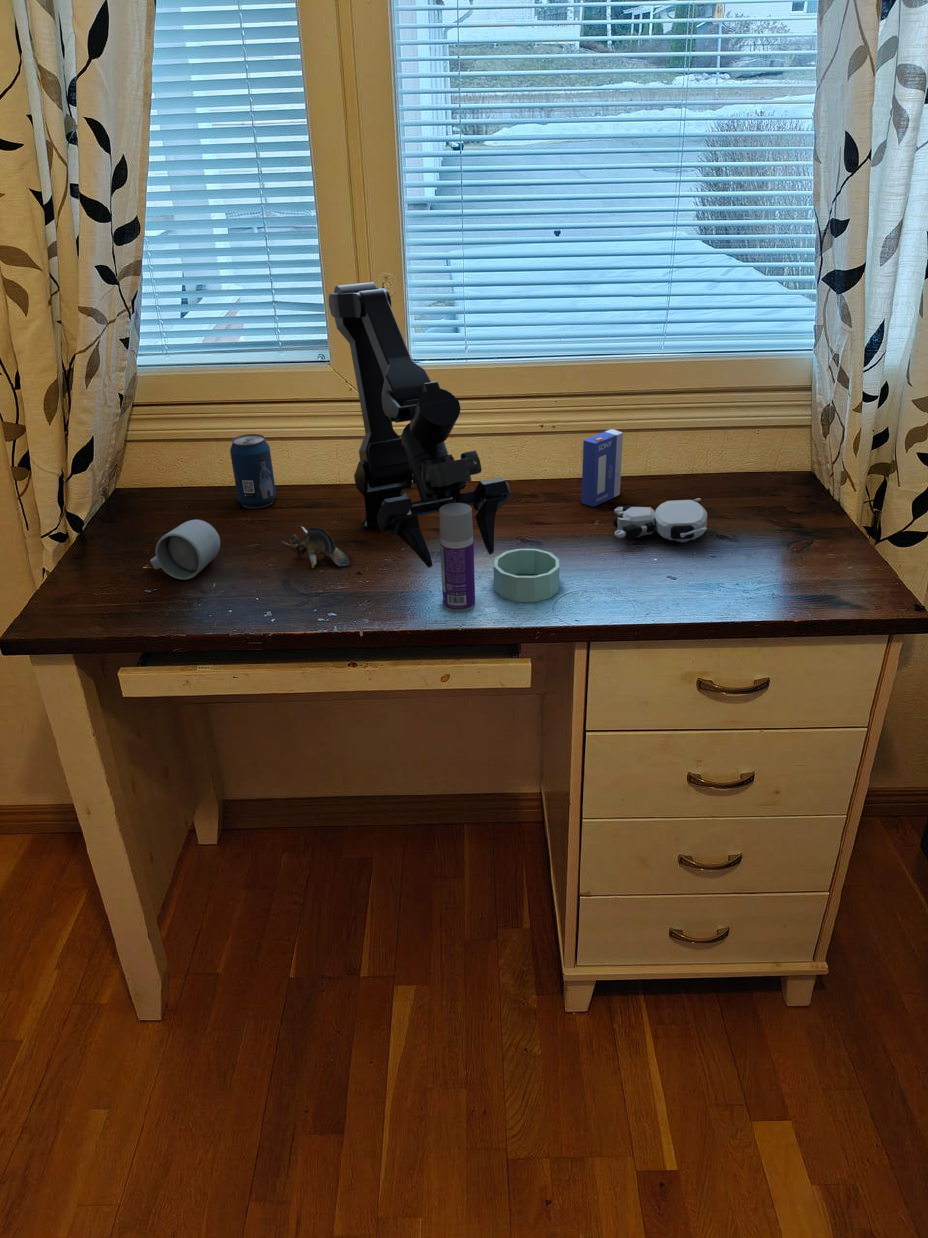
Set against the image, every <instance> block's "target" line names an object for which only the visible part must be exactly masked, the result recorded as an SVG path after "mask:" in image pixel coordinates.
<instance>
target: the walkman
mask: <svg viewBox="0 0 928 1238" xmlns="http://www.w3.org/2000/svg"><path fill="white" fill-rule="evenodd" d="M582 441H583V442H582V443H583V444H582V470H581V471H582V473H581V474H582V476H581V504H583V505H586V506H590V507H592V508H593V507H597V506H598V505H601V504H603V503H605V502H607V501H609V500H612V499H614V498H617V497H618V496H620V495H621V480H622V479H621V478H622V460H623V441H624V432H623V431H619V430H617V429H614V428H610V429H608V430H605V431H603V432H600V433H598V434H596V435H593V436H589V437H588V438H586V439H583V440H582Z"/></svg>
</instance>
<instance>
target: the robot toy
mask: <svg viewBox="0 0 928 1238" xmlns="http://www.w3.org/2000/svg"><path fill="white" fill-rule="evenodd" d="M701 500H702V498H700V497H698V498H695V499H683V500H682V499H680V500H679V499H677V500H667V501H665V502H662V503H660V504H659V505H658V507H656V509H655V510H654V509H653V508H652V507H651V506H649V507H647V506H633V505H624V506H617V507H616V508H615V509H614V510H613V511H614V514H616V516H615V517H614V518H613V520H612V523H613V524H612V525H613V526H614V527H615V528H616V529H617V530H615V531H614V533H613V535H614V537H615V538H617V539H625V540H629V539H636V538H640V537H642V536H648V535H649V536H651V535H652V534H653V533H655V531H656V532H657V533H658V534H659V535H660V536H661V537H662V538H663V539H666V540H669V541H675V542H677V543H688V542H689V541H690V540H696V539H697V538H700V537H702V535H704V533H705V532H706V531H707V530H708V527H707V526H708V512H707V510H706V509H705V508H704V507H703V506H702V505H701V504H700V503H698V502H700V501H701Z"/></svg>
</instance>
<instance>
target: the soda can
mask: <svg viewBox="0 0 928 1238" xmlns="http://www.w3.org/2000/svg"><path fill="white" fill-rule="evenodd" d="M229 452H230V459H231V460H230V461H231V467H232V472H233V478H234V479H233V480H234V485H235V490H236V492H235V493H236V498H237V500H238V501H239V503H240V504H241V505H242V507H244V508H246V509H262V508H266V507H269V506H271V505H272V504H273V503H274V500H275V499H276V496H277V490H276V489H277V488H276V482H275V477H274V467H273V462H272V461H273V460H272V455H271V454H272V453H271V447H270V444H269V443H268V442H267V441H266V437H265V435H262V434H257V433H248V434H242V435H237V436H235V437H233V438H232V439H231V447H230V451H229Z"/></svg>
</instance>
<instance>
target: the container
mask: <svg viewBox="0 0 928 1238" xmlns="http://www.w3.org/2000/svg"><path fill="white" fill-rule="evenodd" d="M472 509H473V508H472V506H469V505H467V504H464V503H449V504H446V505H443V506H442V507H440V509H439V512H438V513H439V515H438V516H439V547H440V548H439V552H440V569H441V570H440V572H441V574H440V575H441V592H442V606H443V608H444V609H445V610H446V611H448V612H450V613H457V614H459V613H461V614H462V613H466V612H469V611H471V610H473V609H474V608H475V606H476V583H475V582H476V581H475V579H476V578H475V547H474V546H475V544H474V543H475V541H474V527H473V526H474V525H473V510H472Z"/></svg>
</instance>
